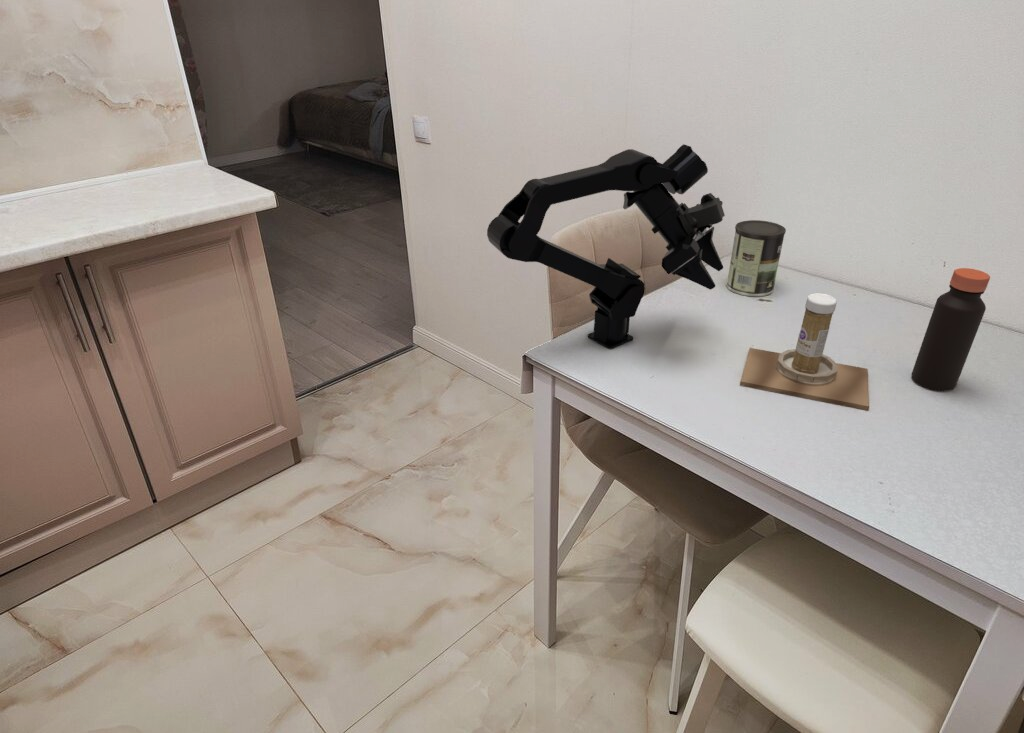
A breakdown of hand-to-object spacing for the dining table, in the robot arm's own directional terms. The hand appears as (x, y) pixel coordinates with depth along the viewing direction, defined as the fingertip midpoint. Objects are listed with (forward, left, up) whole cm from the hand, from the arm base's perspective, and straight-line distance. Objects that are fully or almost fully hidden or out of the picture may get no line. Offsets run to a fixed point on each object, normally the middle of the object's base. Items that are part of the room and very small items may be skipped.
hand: (717, 278), depth 120 cm
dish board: (+3, -18, -14) cm, 23 cm away
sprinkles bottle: (+4, -18, -12) cm, 22 cm away
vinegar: (+19, -33, -14) cm, 40 cm away
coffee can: (+29, +11, -14) cm, 34 cm away
